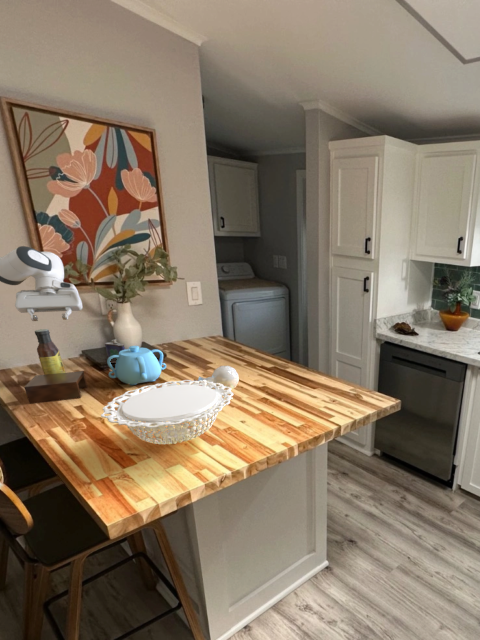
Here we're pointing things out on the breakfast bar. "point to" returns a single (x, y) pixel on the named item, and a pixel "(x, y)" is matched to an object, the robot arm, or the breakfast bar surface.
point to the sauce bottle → (48, 353)
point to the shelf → (55, 387)
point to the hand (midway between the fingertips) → (49, 319)
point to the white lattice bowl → (169, 410)
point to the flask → (114, 348)
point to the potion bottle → (223, 377)
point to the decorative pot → (136, 365)
